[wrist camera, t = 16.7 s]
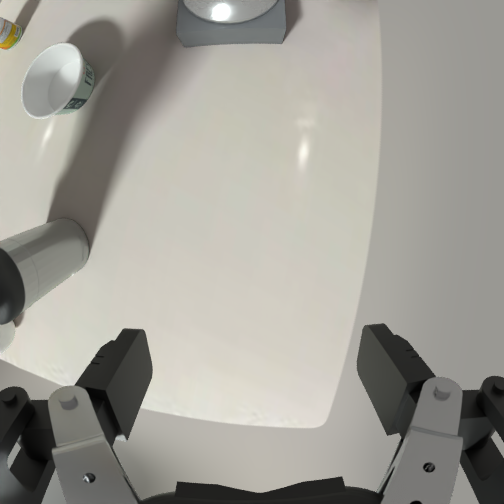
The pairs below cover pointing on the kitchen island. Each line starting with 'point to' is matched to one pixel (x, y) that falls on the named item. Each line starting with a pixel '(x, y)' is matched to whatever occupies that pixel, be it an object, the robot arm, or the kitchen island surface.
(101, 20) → the kitchen island surface
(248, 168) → the kitchen island surface
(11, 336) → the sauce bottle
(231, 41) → the kitchen scale
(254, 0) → the scale pan
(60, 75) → the food container
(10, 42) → the supplement bottle
